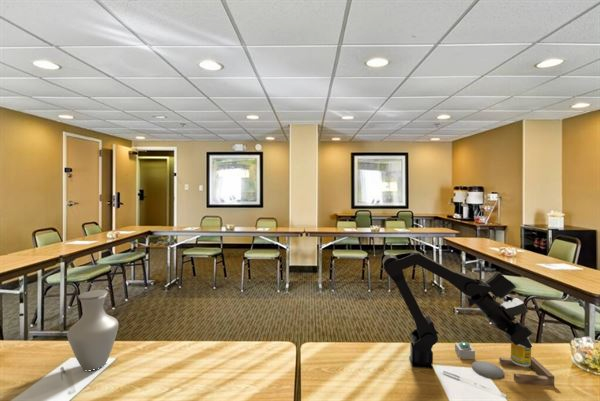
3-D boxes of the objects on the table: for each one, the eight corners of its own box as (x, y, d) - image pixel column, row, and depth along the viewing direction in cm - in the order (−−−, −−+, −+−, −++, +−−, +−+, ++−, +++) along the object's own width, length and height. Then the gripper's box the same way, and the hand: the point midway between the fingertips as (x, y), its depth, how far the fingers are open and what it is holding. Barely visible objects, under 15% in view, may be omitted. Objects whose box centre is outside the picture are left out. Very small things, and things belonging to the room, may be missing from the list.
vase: (128, 355, 111) (127, 287, 110) (98, 380, 96) (96, 301, 96) (91, 353, 112) (90, 286, 111) (56, 377, 98) (54, 300, 97)
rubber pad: (478, 377, 98) (478, 375, 98) (467, 361, 107) (467, 360, 107) (509, 380, 96) (509, 378, 96) (496, 364, 105) (496, 362, 105)
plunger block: (459, 358, 109) (459, 349, 109) (455, 350, 114) (455, 342, 114) (474, 359, 108) (475, 351, 108) (469, 352, 113) (469, 344, 113)
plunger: (461, 355, 110) (461, 345, 110) (458, 350, 113) (458, 341, 113) (471, 356, 109) (471, 346, 109) (467, 351, 112) (467, 342, 112)
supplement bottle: (514, 356, 104) (515, 328, 103) (533, 363, 99) (534, 334, 99) (507, 361, 101) (508, 332, 100) (526, 369, 96) (527, 339, 96)
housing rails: (516, 382, 95) (516, 373, 95) (499, 362, 106) (499, 354, 106) (554, 386, 93) (554, 376, 93) (533, 365, 104) (533, 357, 104)
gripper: (525, 301, 91) (566, 341, 89) (496, 282, 109) (529, 315, 107) (495, 325, 92) (535, 365, 91) (471, 302, 110) (504, 335, 109)
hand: (525, 343), depth 99 cm, fingers closed on supplement bottle, 5 cm apart
